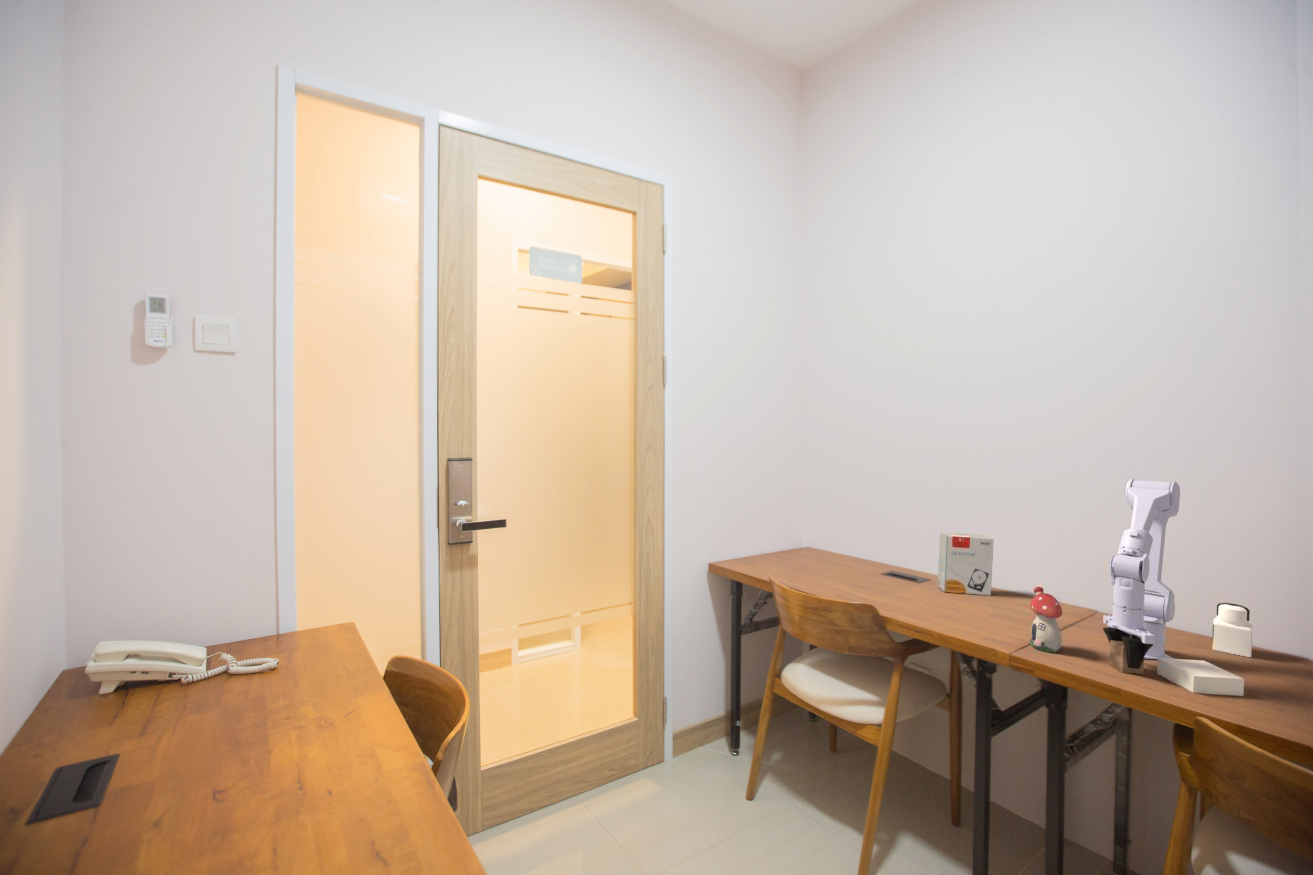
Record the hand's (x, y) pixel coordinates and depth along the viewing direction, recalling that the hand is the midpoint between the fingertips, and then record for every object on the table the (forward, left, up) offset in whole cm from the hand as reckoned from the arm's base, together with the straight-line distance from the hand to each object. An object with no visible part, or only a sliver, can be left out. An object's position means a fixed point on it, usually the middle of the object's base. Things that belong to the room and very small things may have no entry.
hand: (1126, 663), depth 136 cm
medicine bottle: (-19, +37, -2) cm, 42 cm away
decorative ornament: (-12, -12, -2) cm, 17 cm away
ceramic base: (+6, +11, -2) cm, 13 cm away
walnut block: (0, 0, -1) cm, 1 cm away
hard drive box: (-66, -11, -2) cm, 67 cm away
